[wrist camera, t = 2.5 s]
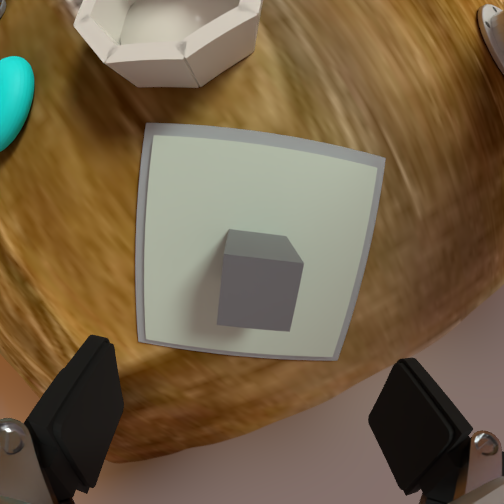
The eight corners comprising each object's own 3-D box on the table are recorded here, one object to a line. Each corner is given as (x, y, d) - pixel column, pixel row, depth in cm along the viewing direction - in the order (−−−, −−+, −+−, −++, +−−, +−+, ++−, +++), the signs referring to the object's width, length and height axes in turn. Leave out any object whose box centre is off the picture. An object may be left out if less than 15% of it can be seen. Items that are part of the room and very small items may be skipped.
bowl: (267, -23, 15) (273, -64, 9) (247, 92, 18) (250, 63, 13) (133, -20, 14) (111, -54, 8) (98, 89, 17) (59, 71, 12)
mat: (382, 158, 20) (385, 158, 19) (335, 356, 25) (337, 360, 24) (148, 124, 19) (146, 122, 18) (140, 337, 24) (138, 341, 23)
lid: (372, 167, 20) (423, 169, 13) (330, 351, 24) (353, 403, 17) (157, 136, 18) (119, 122, 12) (148, 334, 23) (123, 385, 16)
